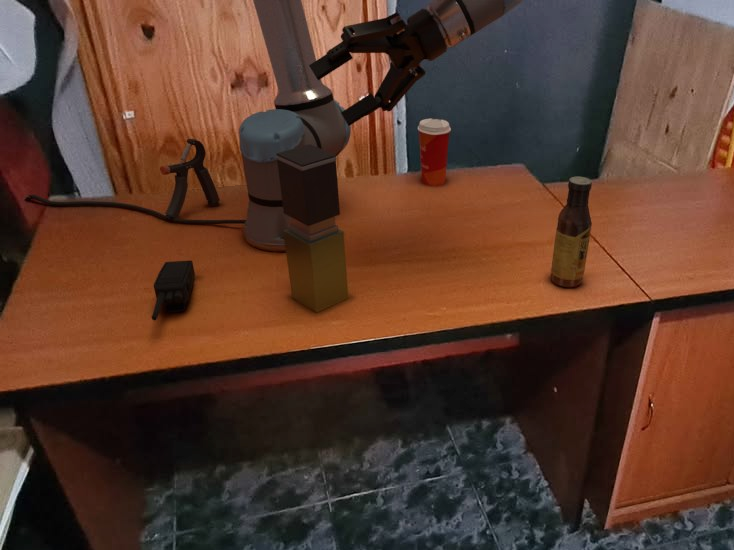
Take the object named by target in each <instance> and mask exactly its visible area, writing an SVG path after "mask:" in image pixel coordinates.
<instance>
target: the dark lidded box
mask: <svg viewBox="0 0 734 550" xmlns="http://www.w3.org/2000/svg"><path fill="white" fill-rule="evenodd" d="M276 159H277V163H278V171H279V179H280V187H281V195H282V203H283V211H284V214H286V215H288V216H290V217H292V218H293V219H295V220H297V221H299V222H301V223H303V224H305V225H307V226H311V225H313V224H316V223H319V222H321V221H324V220H327V219H330V218H332V217H335V218H336V217H338V216H340V215H341V212H340V211H341V210H340V209H341V208H340V197H339V185H338V183H339V182H338V169H337V156H336V155H334V154H332V153H329V152H327V151H325V150H322V149H320V148H318V147H315V146H313V145H311V144H309V145H305V146H301V147H298V148H294V149H291V150H287V151H283V152H280V153H276Z"/></svg>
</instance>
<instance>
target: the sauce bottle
mask: <svg viewBox="0 0 734 550" xmlns="http://www.w3.org/2000/svg"><path fill="white" fill-rule="evenodd" d="M592 185H593V181H592V180H591V178H588V177H586V176H578V175H577V176H572V177H570V178H569V179H568V183H567V188H568V192H567V198H566V204H565V205H564V207H563V208H562V209H561V211H560V212H559V214H558V218H557V227H556V229H555V236H554V245H553V253H552V261H551V267H550V280H551V282H553V284H555V285H557V286H559V287H563V288H564V287H565V288H573V287H577V286H579V285H580V284H581V283H582V281H583V278H584V276H585V269H586V263H587V256H588V251H589V246H590V245H589V244H590V238H591V232H592V226H593V223H592V218H591V213H590V208H589V199H590V192H591V190H592Z"/></svg>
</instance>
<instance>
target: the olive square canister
mask: <svg viewBox="0 0 734 550" xmlns="http://www.w3.org/2000/svg"><path fill="white" fill-rule="evenodd" d="M289 217H290V216H289ZM283 232H284V240H285V248H286V251H285V255H286V263H287V270H288V271H287V272H288V278H289V288H290V293H291V298H292V299H293V300H295V301H297V302H298V303H300V304H302V305H303V306H305V307H306V308H308V309H309V310H311V311H313V312H314V313H317V314H318V313H319V312H322V311H324V310H327V309H328V308H330V307H333V306H334V305H337V304H339V303H341V302H343V301H345V300H347V299H349V288H348V287H349V285H348V273H347V258H346V245H345V231H344V230H341V229H340V228H339V226H338V225H337V224H336V216H335V217H332V218H330V219H327V220H324V221H321V222H319V223H316V224H313V225H311V226H307V225H305V224H303V223H301V222H299V221H297V220H295V219H293V218H292V217H290V224H289V225H288V229H286V230H283Z"/></svg>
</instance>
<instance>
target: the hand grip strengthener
mask: <svg viewBox="0 0 734 550" xmlns="http://www.w3.org/2000/svg"><path fill="white" fill-rule="evenodd" d="M186 143H187V144H186V146H185V147H184V149H183V152H182V154H181V156H180V158H179V159H180V160H181V161H180V163H176V164H171V165H161V166H159V171H160V173H161V175H163V176H166V175H171V174H175V175H174V189H173V192H172V197H171V199H170V202H169V204H168V207H167V209H166V211H165V212H164V215H166V216H165V217H166V218H168V219H170V220H172V218H178V217H179V216H180V214H181V212H182V209H183V206H184V204H185V199H186V196H187V193H188V188H189V187H188V186H189V184H188V183H189V182H188V175H189V170H190V169H193V172H194V173H195V176H196V178H197V180H198V182H199V184H200V186H201V189H202V192H203V194H204V197H205V199H206V201H207V204H208V206H209V207H212V208H215V207H217V206H219V205H220V201H221V199H220V196H219V194H218V193H219V192H218V191H217V188H216V185H215V183H214V181H213V179H212V177H211V174H210V171H209V170H208V167H206V166H205V165H204V162H205V159H206V155H207V153H206V149H205V146H204V144H203V143H202V141H200V140H198V139H194V138H187V139H186ZM192 146H194V147H195V154H194V157H193V158H192V159H190V160H189V161H187V159H188V156H189V155H190V152H191V149H192Z"/></svg>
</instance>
